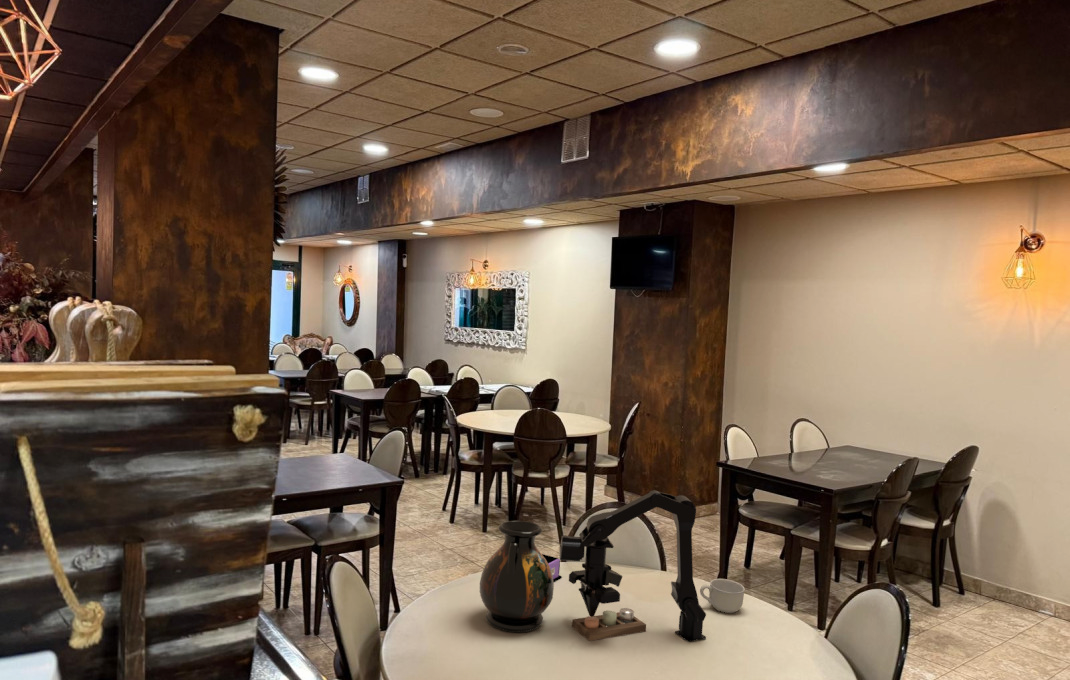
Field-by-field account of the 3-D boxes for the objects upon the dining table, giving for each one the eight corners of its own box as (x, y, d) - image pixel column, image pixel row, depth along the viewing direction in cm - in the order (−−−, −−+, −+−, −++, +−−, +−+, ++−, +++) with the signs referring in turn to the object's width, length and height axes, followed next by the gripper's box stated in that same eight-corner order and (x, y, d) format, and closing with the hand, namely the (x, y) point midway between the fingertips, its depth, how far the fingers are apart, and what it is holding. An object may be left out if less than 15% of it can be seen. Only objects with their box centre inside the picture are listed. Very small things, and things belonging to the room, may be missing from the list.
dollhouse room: (563, 578, 245) (564, 558, 245) (545, 587, 235) (547, 567, 234) (533, 570, 251) (534, 550, 251) (515, 579, 241) (516, 559, 241)
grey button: (635, 622, 206) (636, 612, 206) (624, 624, 204) (625, 614, 204) (627, 617, 210) (628, 607, 210) (616, 619, 208) (617, 609, 208)
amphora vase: (544, 643, 192) (550, 541, 192) (468, 631, 196) (474, 531, 196) (557, 613, 213) (563, 520, 213) (488, 603, 218) (494, 512, 217)
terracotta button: (600, 631, 201) (601, 621, 201) (588, 633, 199) (589, 622, 199) (593, 625, 204) (594, 615, 204) (581, 627, 202) (582, 617, 202)
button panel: (645, 631, 204) (646, 624, 204) (589, 640, 196) (590, 633, 196) (626, 617, 213) (626, 611, 213) (571, 626, 204) (572, 619, 204)
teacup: (739, 604, 230) (741, 580, 230) (746, 618, 219) (748, 592, 219) (696, 600, 231) (697, 576, 231) (700, 613, 220) (702, 588, 220)
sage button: (618, 625, 203) (619, 615, 203) (607, 627, 202) (607, 616, 202) (611, 620, 207) (611, 609, 207) (599, 621, 205) (600, 611, 205)
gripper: (637, 569, 197) (634, 625, 197) (601, 549, 213) (598, 600, 214) (604, 573, 192) (600, 630, 192) (569, 552, 208) (566, 605, 208)
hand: (591, 616), depth 202 cm, fingers closed
